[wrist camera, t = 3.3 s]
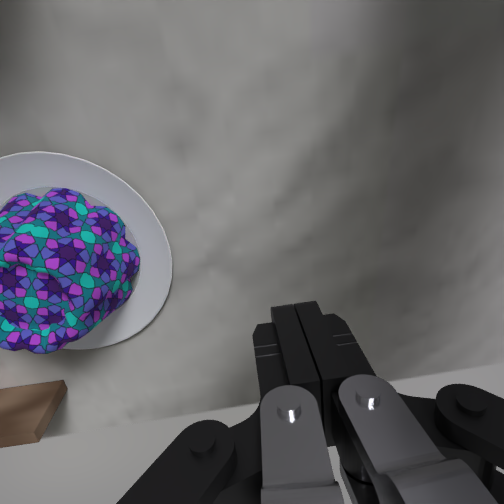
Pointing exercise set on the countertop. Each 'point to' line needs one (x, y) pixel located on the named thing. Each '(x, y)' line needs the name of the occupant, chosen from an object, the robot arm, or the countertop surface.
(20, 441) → the box
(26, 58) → the countertop surface
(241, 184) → the countertop surface
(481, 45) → the countertop surface
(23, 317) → the pudding
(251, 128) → the countertop surface
